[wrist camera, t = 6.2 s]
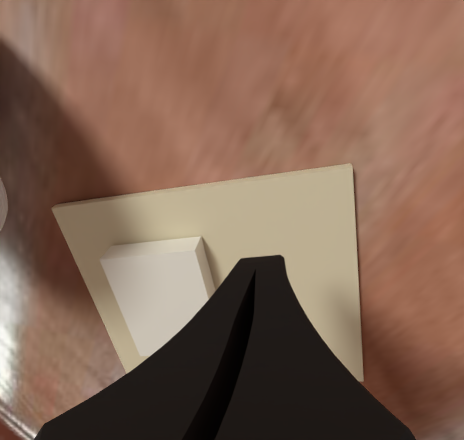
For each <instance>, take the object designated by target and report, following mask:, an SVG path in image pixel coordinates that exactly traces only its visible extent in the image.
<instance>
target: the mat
mask: <svg viewBox="0 0 464 440" xmlns="http://www.w3.org/2000/svg"><path fill="white" fill-rule="evenodd" d="M51 209H52V212H53V214H54V216H55V218H56V220H57V222H58V225H59V227H60V229H61V231H62V233H63V236H64V238H65V240H66V242H67V244H68V247H69V249H70V251H71V253H72V255H73V257H74V260H75V262H76V264H77V266H78V268H79V271H80V273H81V275H82V277H83V279H84V281H85V284H86V286H87V288H88V290H89V292H90V295H91V297H92V299H93V301H94V303H95V305H96V308H97V310H98V312H99V314H100V316H101V319H102V321H103V323H104V325H105V327H106V329H107V332H108V334H109V336H110V338H111V340H112V343H113V345H114V347H115V349H116V351H117V353H118V356H119V358H120V360H121V362H122V364H123V367H124V369H125V371H126V373H129V372H130V371H131V370H133V369H134V368H136V367H137V366H138V365H139V364H141V363H142V362H143V361H144V360H146V359H147V358H148V357H150V356H140V355H139V352H138V350H137V348H136V345H135V343H134V340H133V338H132V336H131V333H130V331H129V329H128V326H127V324H126V321H125V319H124V317H123V314H122V312H121V310H120V307H119V305H118V303H117V300H116V298H115V295H114V293H113V291H112V288H111V286H110V284H109V281H108V279H107V276H106V274H105V272H104V269H103V267H102V265H101V262H100V258H101V257H102V256H103V255H104V254H105V253H106V251H107V250H108V249H109V248H110V247H111V246H114V245H123V244H133V243H142V242H152V241H161V240H171V239H180V238H190V237H199V236H201V238H202V242H203V245H204V249H205V253H206V257H207V260H208V264H209V268H210V272H211V275H212V279H213V283H214V287H215V290H217V289H218V287H219V286H220V285H221V283H222V282H223V281H224V279H225V278H226V277H227V276H228V274H229V273H230V271H231V270H232V269H233V267H234V266H235V265H236V263H237V262H238V261H239V260H240V259H241V258H249V257H260V256H272V255H281V256H283V257H284V259H285V265H286V272H287V276H288V279H289V282H290V284H291V287H292V289H293V291H294V293H295V295H296V297H297V299H298V301H299V303H300V305H301V307H302V308H303V310H304V312H305V313H306V315H307V317H308V318H309V320H310V322H311V323H312V325H313V326H314V328H315V329H316V331H317V332H318V333H319V335H320V336H321V338H322V339H323V340H324V342H325V343H326V344H327V346H328V347H329V348H330V349H331V351H332V352H333V353H334V355H335V356H336V357H337V358H338V359H339V360H340V361H341V362H342V364H343V365H344V366H345V367H346V368H347V369H348V370H349V371H350V373H351V374H352V375H353V376H354V377H355V378H356V379H357V380H358V381H364V378H363V358H362V339H361V320H360V300H359V281H358V261H357V242H356V223H355V203H354V184H353V167H352V165H351V163H350V164H343V165H336V166H329V167H321V168H314V169H307V170H300V171H292V172H285V173H278V174H271V175H264V176H256V177H249V178H242V179H235V180H228V181H220V182H213V183H206V184H199V185H191V186H184V187H177V188H170V189H163V190H155V191H148V192H141V193H134V194H127V195H119V196H112V197H105V198H98V199H91V200H83V201H76V202H69V203H62V204H56V205H55V206H53V207H52V208H51Z"/></svg>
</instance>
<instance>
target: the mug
mask: <svg viewBox="0 0 464 440" xmlns="http://www.w3.org/2000/svg"><path fill="white" fill-rule="evenodd" d="M7 212H8V200H7V194H6V190H5V187H4V184H3V181H2V179H1V177H0V231H1V229H2V228H3V225H4V223H5V220H6V216H7Z"/></svg>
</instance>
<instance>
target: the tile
mask: <svg viewBox="0 0 464 440" xmlns="http://www.w3.org/2000/svg"><path fill="white" fill-rule="evenodd" d="M100 262H101V265H102V267H103V269H104V272H105V274H106V276H107V279H108V281H109V284H110V286H111V288H112V291H113V293H114V295H115V298H116V300H117V303H118V305H119V307H120V310H121V312H122V314H123V317H124V319H125V321H126V324H127V326H128V329H129V331H130V333H131V336H132V338H133V340H134V343H135V345H136V348H137V350H138V352H139V355H140V356H151V355H152V354H153V353H155V352H156V351H157V350H158V349H160V348H161V347H162V346H163V345H164V344H166V343H167V342H168V341H169V340H170V339H171V338H172V337H173V336H175V335H176V334H177V333H178V332H179V331H180V330H181V329H182V328H183V327H184V326H185V325H186V324H187V323H188V322H189V321H190V320H191V319H192V318H193V317H194V316H195V314H196V313H197V312H198V311H199V310H200V309H201V308H202V307H203V306H204V304H205V303H206V302H207V301H208V300H209V299H210V297H211V296H212V295H213V294H214V292H215V291H216V290H215V287H214V283H213V279H212V275H211V272H210V268H209V264H208V260H207V257H206V253H205V249H204V245H203V242H202V238H201V236H199V237H190V238H180V239H171V240H161V241H152V242H142V243H133V244H123V245H114V246H111V247H110V248H109V249H108V250H107V251H106V253H105V254H104V255H103V256H102V257H101V258H100Z"/></svg>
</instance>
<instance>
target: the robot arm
mask: <svg viewBox="0 0 464 440" xmlns="http://www.w3.org/2000/svg"><path fill="white" fill-rule="evenodd" d="M34 440H416V439H415V437H414V436H413V434H412V432H411V431H410V429H409V428H408V427H406V426H405V425H404V424H403V423H402V422H401V421H400V420H399V419H397V418H396V417H395V416H394V415H393V414H392V413H391V412H389V411H388V410H387V409H386V408H385V407H384V406H383V405H382V404H381V403H380V402H379V401H378V400H377V399H376V398H374V397H373V396H372V395H371V394H370V392H369V391H368V390H367V389H366V388H365V387H364V386H363V385H362V384H361V383H360V382H359V381H358V380H357V379H356V378H355V377H354V376H353V375H352V374H351V373H350V371H349V370H348V369H347V368H346V367H345V366H344V365H343V364H342V362H341V361H340V360H339V359H338V358H337V357H336V356H335V355H334V353H333V352H332V351H331V349H330V348H329V347H328V346H327V344H326V343H325V342H324V340H323V339H322V338H321V336H320V335H319V333H318V332H317V331H316V329H315V328H314V326H313V325H312V323H311V322H310V320H309V318H308V317H307V315H306V313H305V312H304V310H303V308H302V307H301V305H300V303H299V301H298V299H297V297H296V295H295V293H294V291H293V289H292V287H291V284H290V282H289V279H288V276H287V272H286V265H285V259H284V257H283V256H281V255H272V256H260V257H249V258H241V259H240V260H239V261H238V262H237V263H236V265H235V266H234V267H233V269H232V270H231V271H230V273H229V274H228V276H227V277H226V278H225V279H224V281H223V282H222V283H221V285H220V286H219V287H218V289H217V290H216V291H215V292H214V294H213V295H212V296H211V297H210V299H209V300H208V301H207V302H206V303H205V304H204V306H203V307H202V308H201V309H200V310H199V311H198V312H197V313H196V314H195V316H194V317H193V318H192V319H191V320H190V321H189V322H188V323H187V324H186V325H185V326H184V327H183V328H182V329H181V330H180V331H179V332H178V333H177V334H176V335H175V336H173V337H172V338H171V339H170V340H169V341H168V342H167V343H166V344H164V345H163V346H162V347H161V348H160V349H158V350H157V351H156V352H155V353H153V354H152V355H151V356H150V357H148V358H147V359H146V360H144V361H143V362H142V363H141V364H139V365H138V366H137V367H136V368H134V369H133V370H131V371H130V372H129V373H127V374H126V375H124V376H123V377H121V378H120V379H119V380H117V381H116V382H114V383H113V384H111V385H110V386H108V387H106V388H105V389H103V390H102V391H100V392H99V393H97V394H96V395H94V396H92V397H91V398H89V399H87V400H86V401H84V402H82V403H80V404H79V405H77V406H75V407H73V408H72V409H70V410H68V411H66V412H65V413H63V414H61V415H59V416H58V417H56V418H54V419H52V420H50V421H49V422H47V423H45V424H44V425H43V427H42V428H41V429H40V431H39V433H38V434H37V436H36V437H35V439H34Z"/></svg>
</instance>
